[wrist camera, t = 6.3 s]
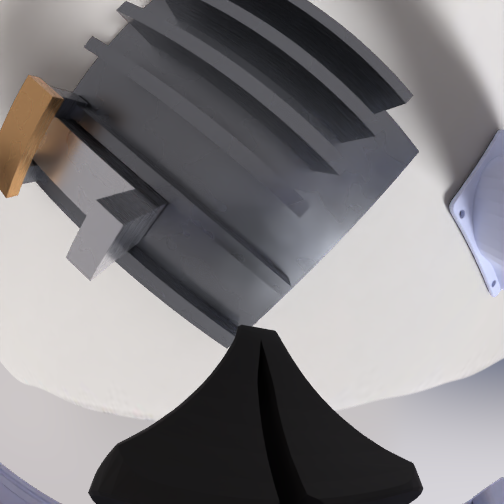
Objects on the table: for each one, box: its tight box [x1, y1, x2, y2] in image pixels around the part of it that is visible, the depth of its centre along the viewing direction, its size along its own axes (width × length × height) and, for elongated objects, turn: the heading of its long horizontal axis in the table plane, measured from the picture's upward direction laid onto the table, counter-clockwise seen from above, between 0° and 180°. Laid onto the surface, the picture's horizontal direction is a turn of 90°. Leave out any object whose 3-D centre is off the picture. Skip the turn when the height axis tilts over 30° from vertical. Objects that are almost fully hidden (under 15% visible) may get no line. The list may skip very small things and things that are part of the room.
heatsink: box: [0, 0, 419, 348], centre depth 10 cm, size 15×14×5 cm
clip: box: [33, 117, 168, 281], centre depth 9 cm, size 8×2×4 cm, turn 48°
